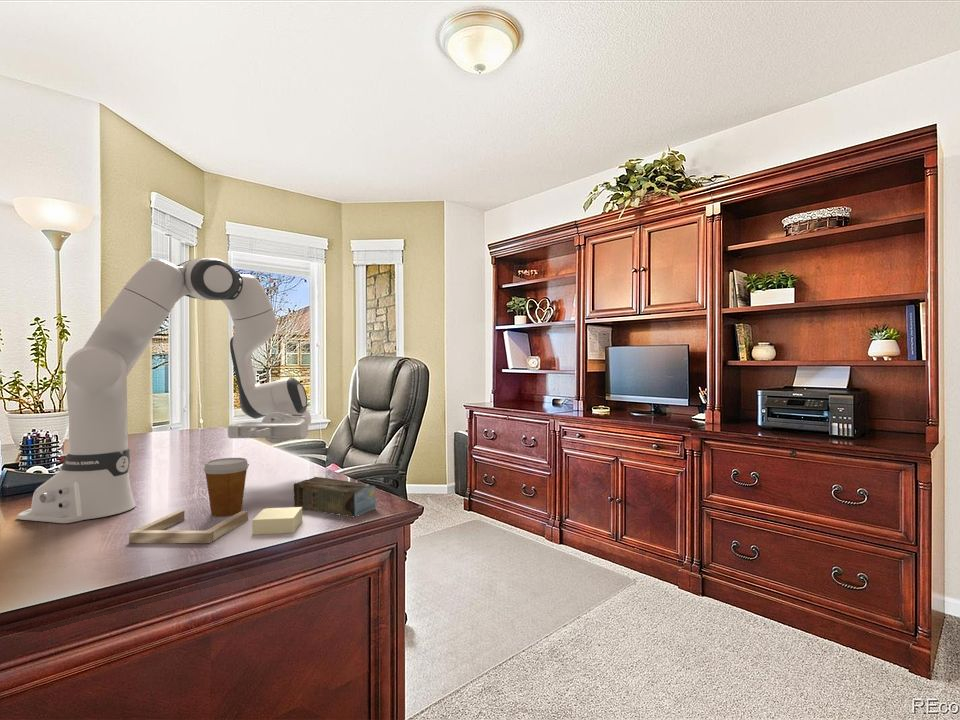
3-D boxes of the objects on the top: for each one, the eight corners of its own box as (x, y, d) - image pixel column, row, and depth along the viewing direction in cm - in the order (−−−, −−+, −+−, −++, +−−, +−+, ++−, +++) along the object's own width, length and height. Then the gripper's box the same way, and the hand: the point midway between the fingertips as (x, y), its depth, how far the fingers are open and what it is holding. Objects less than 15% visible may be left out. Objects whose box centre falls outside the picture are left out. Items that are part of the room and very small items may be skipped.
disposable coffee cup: (213, 507, 121) (213, 457, 121) (254, 506, 122) (254, 456, 122) (195, 519, 111) (195, 465, 111) (240, 518, 112) (240, 464, 112)
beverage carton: (354, 519, 111) (354, 489, 112) (291, 509, 120) (291, 481, 120) (376, 509, 119) (376, 482, 119) (315, 500, 127) (315, 474, 127)
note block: (252, 534, 101) (252, 519, 101) (264, 522, 109) (264, 508, 109) (293, 532, 102) (293, 518, 102) (302, 520, 110) (302, 506, 110)
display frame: (129, 542, 97) (129, 532, 97) (178, 519, 111) (177, 510, 111) (209, 543, 96) (209, 533, 96) (247, 520, 111) (247, 511, 111)
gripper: (242, 416, 143) (214, 422, 129) (312, 415, 142) (291, 421, 128) (242, 438, 143) (214, 447, 129) (312, 437, 142) (292, 446, 128)
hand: (253, 434), depth 129 cm, fingers closed
